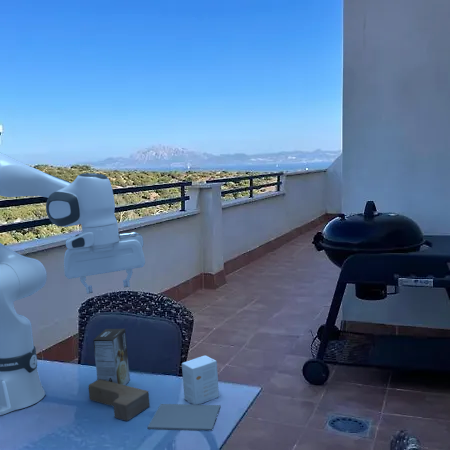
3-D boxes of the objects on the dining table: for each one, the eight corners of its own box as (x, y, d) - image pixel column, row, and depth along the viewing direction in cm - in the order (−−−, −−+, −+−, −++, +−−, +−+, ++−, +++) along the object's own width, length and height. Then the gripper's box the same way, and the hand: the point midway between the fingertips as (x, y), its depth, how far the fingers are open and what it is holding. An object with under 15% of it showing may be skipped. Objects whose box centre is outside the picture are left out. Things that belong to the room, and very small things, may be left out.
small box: (208, 390, 151) (205, 354, 149) (219, 397, 146) (217, 360, 145) (183, 399, 146) (181, 362, 145) (194, 406, 142) (192, 368, 140)
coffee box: (110, 379, 162) (105, 328, 159) (130, 380, 160) (126, 328, 158) (97, 393, 153) (92, 339, 150) (119, 394, 152) (114, 339, 149)
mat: (147, 429, 131) (147, 427, 131) (160, 405, 143) (160, 403, 143) (212, 430, 129) (212, 428, 129) (220, 406, 141) (220, 405, 141)
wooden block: (125, 405, 135) (75, 391, 144) (127, 421, 135) (76, 407, 145) (148, 390, 142) (99, 378, 152) (150, 406, 143) (100, 393, 152)
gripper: (140, 230, 143) (146, 281, 144) (60, 241, 137) (67, 294, 138) (143, 231, 137) (150, 285, 138) (60, 243, 131) (68, 299, 132)
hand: (108, 289), depth 138 cm, fingers open, 8 cm apart
